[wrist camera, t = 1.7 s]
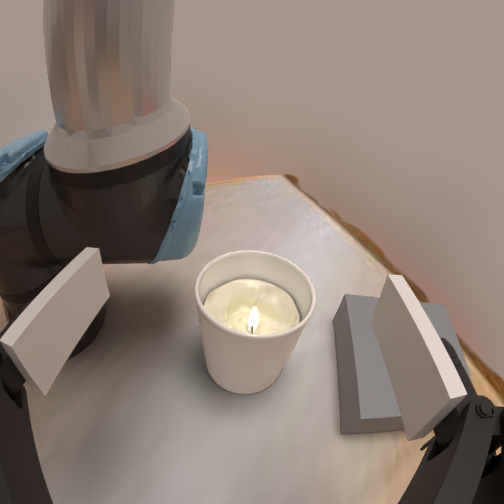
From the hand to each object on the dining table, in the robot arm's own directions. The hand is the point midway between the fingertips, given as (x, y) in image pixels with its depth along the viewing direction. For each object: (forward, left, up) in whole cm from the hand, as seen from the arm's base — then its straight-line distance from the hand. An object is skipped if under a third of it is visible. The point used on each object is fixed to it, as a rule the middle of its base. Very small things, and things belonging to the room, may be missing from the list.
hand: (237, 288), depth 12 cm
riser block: (+6, +20, -19) cm, 29 cm away
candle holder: (-5, +5, -19) cm, 21 cm away
